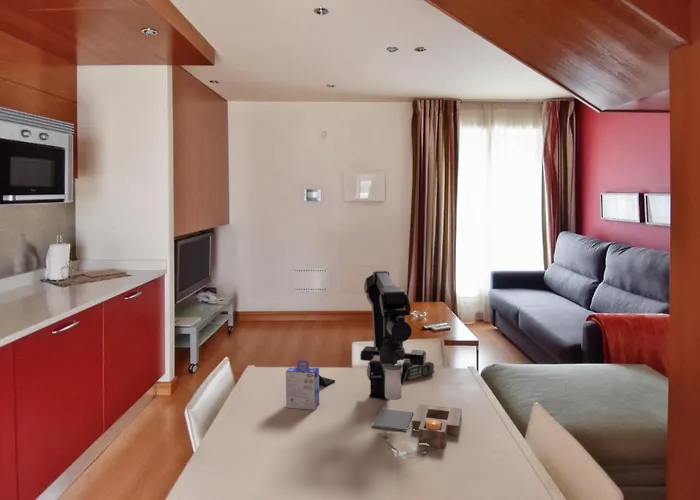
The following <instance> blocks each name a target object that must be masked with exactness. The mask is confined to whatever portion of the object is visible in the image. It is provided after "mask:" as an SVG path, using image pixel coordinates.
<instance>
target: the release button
mask: <svg viewBox="0 0 700 500" xmlns="http://www.w3.org/2000/svg"><path fill="white" fill-rule="evenodd" d="M426 429H432V430H441V423H440V422H439V421H437V420H428V421H426Z"/></svg>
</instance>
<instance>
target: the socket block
mask: <svg viewBox="0 0 700 500" xmlns="http://www.w3.org/2000/svg"><path fill="white" fill-rule="evenodd" d="M462 413H463V412H462V408H461V407H451V406H443V405H442V406H441V405H433V404H432V405H431V404H424V403H418V405H417V407H416V410H415V413H414V414H413V416H412V419H411V421H412V422H411V425H412V427H411V430H412V429H415V430H419V431H418V444H419V443H427V444H429V445H431V446H434V447H433V448H438V449H445V448H446V444H447V439H448V436H455V437H459V436H460V430H461V423H462V418H463V417H462V416H463V415H462ZM428 420H437V421H439V422H440V423H441V430H432V429H426V421H428Z"/></svg>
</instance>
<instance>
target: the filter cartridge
mask: <svg viewBox="0 0 700 500" xmlns="http://www.w3.org/2000/svg"><path fill="white" fill-rule="evenodd" d="M402 365H403V363H401V362H399V361H397V364H396V365H391V364H385V398H387V399H386V400H389V401H398V400H401V399H402V395H403V393H402V390H403V388H402V386H403V385H401V377H402Z"/></svg>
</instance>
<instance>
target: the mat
mask: <svg viewBox="0 0 700 500" xmlns="http://www.w3.org/2000/svg"><path fill="white" fill-rule="evenodd" d="M413 417H414V412H413V411H405V410H397V409H390V408H389V409H387V408H380V410H379V412H378V414H377V416H376V417H375V419H374V422H373V424H372V425H371V427H372V428H375V429H376V428H377V429H384V430H390V431H398V430H407V431H408V429H407V428H409V426H410V423H411V421H412V419H413Z"/></svg>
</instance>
